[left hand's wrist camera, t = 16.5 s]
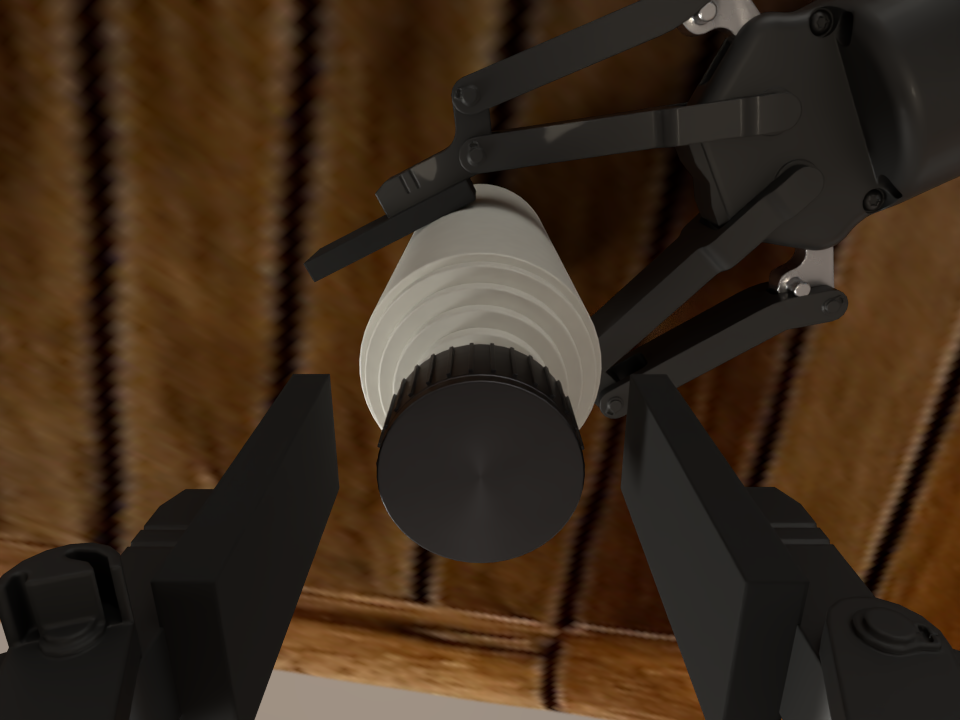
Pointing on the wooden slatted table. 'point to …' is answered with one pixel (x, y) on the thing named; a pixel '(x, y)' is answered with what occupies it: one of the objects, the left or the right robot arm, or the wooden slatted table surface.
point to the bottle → (481, 301)
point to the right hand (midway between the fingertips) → (365, 343)
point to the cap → (480, 455)
